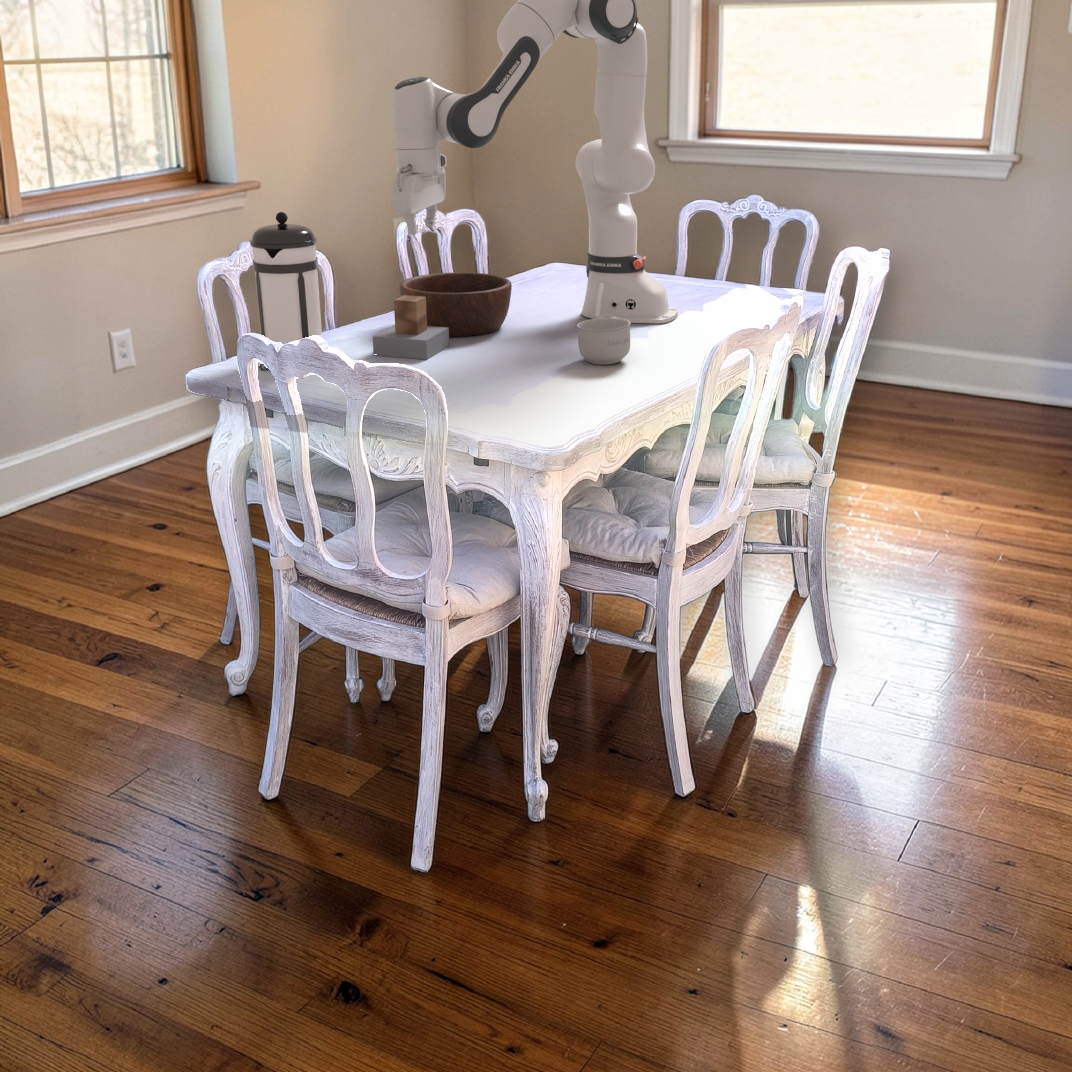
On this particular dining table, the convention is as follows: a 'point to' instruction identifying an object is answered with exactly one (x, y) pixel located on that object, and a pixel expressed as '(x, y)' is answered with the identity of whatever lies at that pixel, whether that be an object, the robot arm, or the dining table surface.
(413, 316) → the walnut block
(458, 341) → the dining table surface
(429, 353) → the block
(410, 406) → the dining table surface
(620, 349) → the teacup
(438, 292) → the wooden bowl
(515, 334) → the dining table surface
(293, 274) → the coffee press
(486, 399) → the dining table surface
